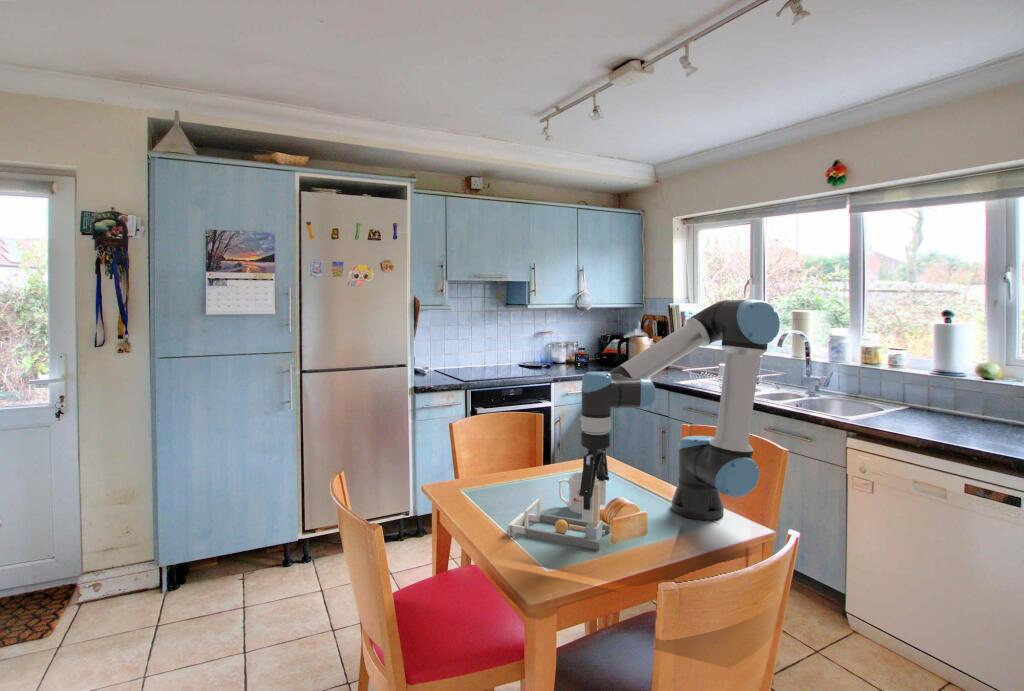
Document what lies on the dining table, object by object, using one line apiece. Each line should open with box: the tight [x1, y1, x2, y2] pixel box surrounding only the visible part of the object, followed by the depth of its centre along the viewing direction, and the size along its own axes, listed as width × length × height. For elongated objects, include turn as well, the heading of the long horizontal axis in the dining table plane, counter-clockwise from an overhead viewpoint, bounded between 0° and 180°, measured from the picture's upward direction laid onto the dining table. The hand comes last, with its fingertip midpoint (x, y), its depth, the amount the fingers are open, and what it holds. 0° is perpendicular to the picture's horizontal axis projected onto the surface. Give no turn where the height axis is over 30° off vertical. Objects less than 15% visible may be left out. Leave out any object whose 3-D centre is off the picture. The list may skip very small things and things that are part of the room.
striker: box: [584, 482, 603, 541], centre depth 144 cm, size 3×6×15 cm, turn 156°
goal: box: [507, 498, 542, 537], centre depth 152 cm, size 6×10×8 cm, turn 156°
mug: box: [558, 472, 598, 515], centre depth 165 cm, size 12×9×11 cm
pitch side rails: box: [525, 512, 611, 551], centre depth 147 cm, size 20×12×3 cm, turn 66°
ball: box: [554, 520, 569, 534], centre depth 148 cm, size 4×4×4 cm
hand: (594, 512), depth 144 cm, fingers open, 12 cm apart
